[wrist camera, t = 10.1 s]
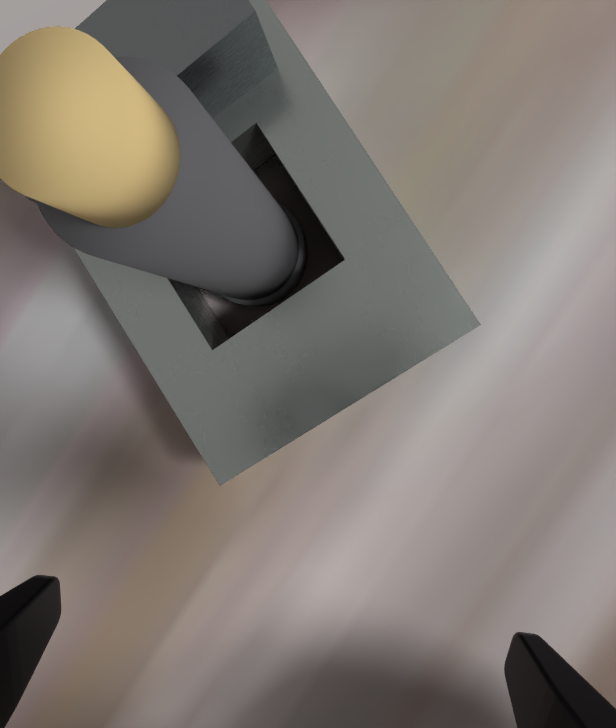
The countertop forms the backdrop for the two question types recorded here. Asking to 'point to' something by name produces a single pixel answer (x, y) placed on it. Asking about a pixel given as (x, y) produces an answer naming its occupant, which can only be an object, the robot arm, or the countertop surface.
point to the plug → (139, 170)
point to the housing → (331, 208)
